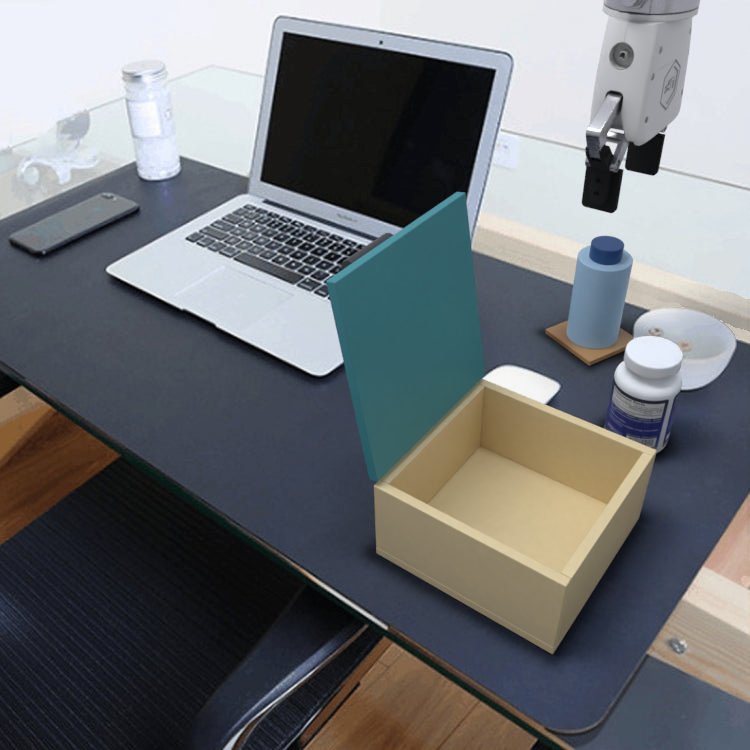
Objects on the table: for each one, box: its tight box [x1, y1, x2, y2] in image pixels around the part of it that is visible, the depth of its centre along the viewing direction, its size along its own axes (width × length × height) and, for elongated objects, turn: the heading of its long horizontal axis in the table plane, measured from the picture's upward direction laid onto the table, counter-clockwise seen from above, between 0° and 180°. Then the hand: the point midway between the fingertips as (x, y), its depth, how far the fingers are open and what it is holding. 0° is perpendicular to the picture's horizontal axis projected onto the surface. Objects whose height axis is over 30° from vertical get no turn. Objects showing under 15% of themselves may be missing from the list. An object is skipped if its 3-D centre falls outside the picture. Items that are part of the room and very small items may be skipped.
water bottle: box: [566, 235, 634, 349], centre depth 82 cm, size 5×5×11 cm
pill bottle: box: [603, 335, 684, 454], centre depth 71 cm, size 6×6×10 cm
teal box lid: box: [325, 191, 486, 483], centre depth 60 cm, size 16×16×4 cm
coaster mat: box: [544, 319, 634, 367], centre depth 86 cm, size 7×7×1 cm
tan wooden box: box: [373, 378, 657, 655], centre depth 62 cm, size 16×16×8 cm
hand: (620, 189), depth 75 cm, fingers open, 9 cm apart
